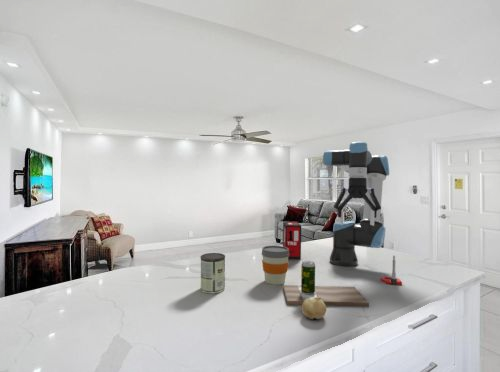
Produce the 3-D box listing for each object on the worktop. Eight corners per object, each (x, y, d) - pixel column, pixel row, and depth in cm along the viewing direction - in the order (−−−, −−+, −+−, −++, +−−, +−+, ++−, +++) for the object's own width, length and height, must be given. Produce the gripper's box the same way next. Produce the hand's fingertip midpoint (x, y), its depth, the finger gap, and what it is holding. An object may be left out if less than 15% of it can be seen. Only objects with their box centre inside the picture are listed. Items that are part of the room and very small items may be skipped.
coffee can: (207, 283, 129) (207, 251, 128) (228, 286, 125) (229, 254, 125) (195, 291, 119) (195, 257, 119) (218, 295, 116) (218, 260, 115)
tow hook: (378, 278, 140) (384, 284, 130) (378, 251, 140) (384, 255, 131) (397, 279, 138) (404, 285, 129) (397, 252, 139) (404, 256, 130)
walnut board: (283, 288, 123) (283, 284, 123) (354, 290, 123) (354, 286, 123) (287, 304, 108) (287, 300, 107) (368, 306, 107) (369, 301, 107)
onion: (321, 325, 93) (321, 303, 93) (298, 318, 97) (298, 297, 97) (328, 315, 100) (329, 294, 99) (306, 309, 104) (307, 290, 104)
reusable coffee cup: (292, 279, 136) (292, 247, 135) (283, 288, 124) (284, 253, 124) (267, 275, 141) (267, 244, 141) (256, 283, 130) (257, 249, 129)
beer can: (305, 289, 119) (305, 260, 119) (317, 292, 116) (317, 262, 115) (298, 292, 115) (299, 262, 115) (310, 296, 111) (311, 265, 111)
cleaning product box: (282, 252, 187) (283, 221, 186) (296, 252, 186) (297, 221, 186) (285, 259, 170) (286, 225, 170) (300, 259, 170) (301, 225, 170)
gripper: (331, 176, 125) (330, 225, 126) (389, 177, 125) (388, 226, 125) (327, 177, 133) (326, 223, 133) (382, 177, 132) (381, 224, 133)
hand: (356, 225), depth 129 cm, fingers open, 13 cm apart
